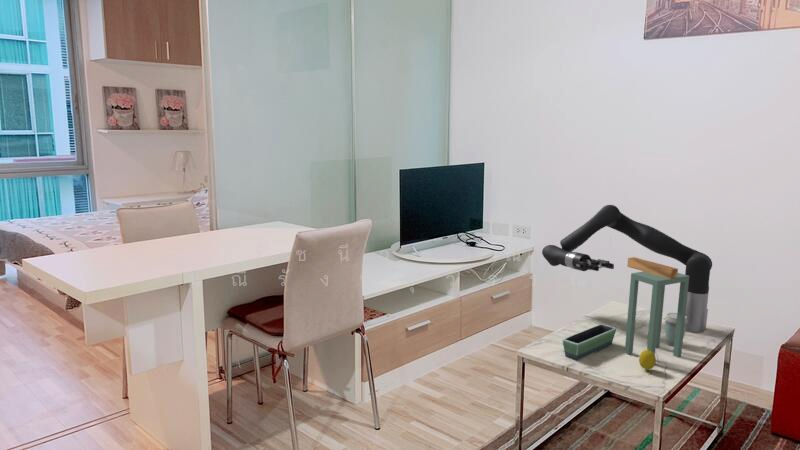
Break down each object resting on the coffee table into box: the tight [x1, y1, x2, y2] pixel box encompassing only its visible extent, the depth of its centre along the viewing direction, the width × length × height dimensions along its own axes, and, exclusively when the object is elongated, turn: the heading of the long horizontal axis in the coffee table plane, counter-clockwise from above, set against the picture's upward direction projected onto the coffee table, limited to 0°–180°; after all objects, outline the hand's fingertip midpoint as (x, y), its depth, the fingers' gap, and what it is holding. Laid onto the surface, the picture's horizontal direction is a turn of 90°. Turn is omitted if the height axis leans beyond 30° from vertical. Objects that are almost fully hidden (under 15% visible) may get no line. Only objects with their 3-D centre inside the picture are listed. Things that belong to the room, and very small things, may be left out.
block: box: [626, 256, 679, 279], centre depth 223 cm, size 4×20×4 cm, turn 27°
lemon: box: [638, 348, 657, 371], centre depth 211 cm, size 6×6×8 cm
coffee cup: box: [664, 312, 688, 347], centre depth 236 cm, size 8×9×12 cm
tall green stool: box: [624, 271, 689, 358], centre depth 223 cm, size 17×12×32 cm
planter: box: [562, 323, 617, 361], centre depth 229 cm, size 28×7×7 cm, turn 130°
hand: (605, 267), depth 245 cm, fingers open, 8 cm apart
